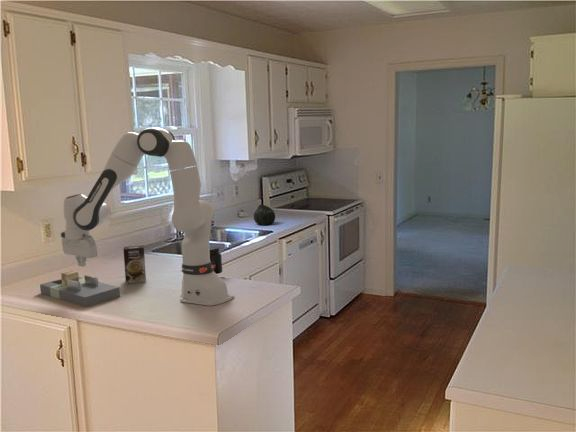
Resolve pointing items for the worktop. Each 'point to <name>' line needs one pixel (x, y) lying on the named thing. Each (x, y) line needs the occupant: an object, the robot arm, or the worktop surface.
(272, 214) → the squash
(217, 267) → the supplement bottle
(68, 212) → the robot arm
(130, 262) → the coffee box
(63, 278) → the maple block
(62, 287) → the tunnel deck
